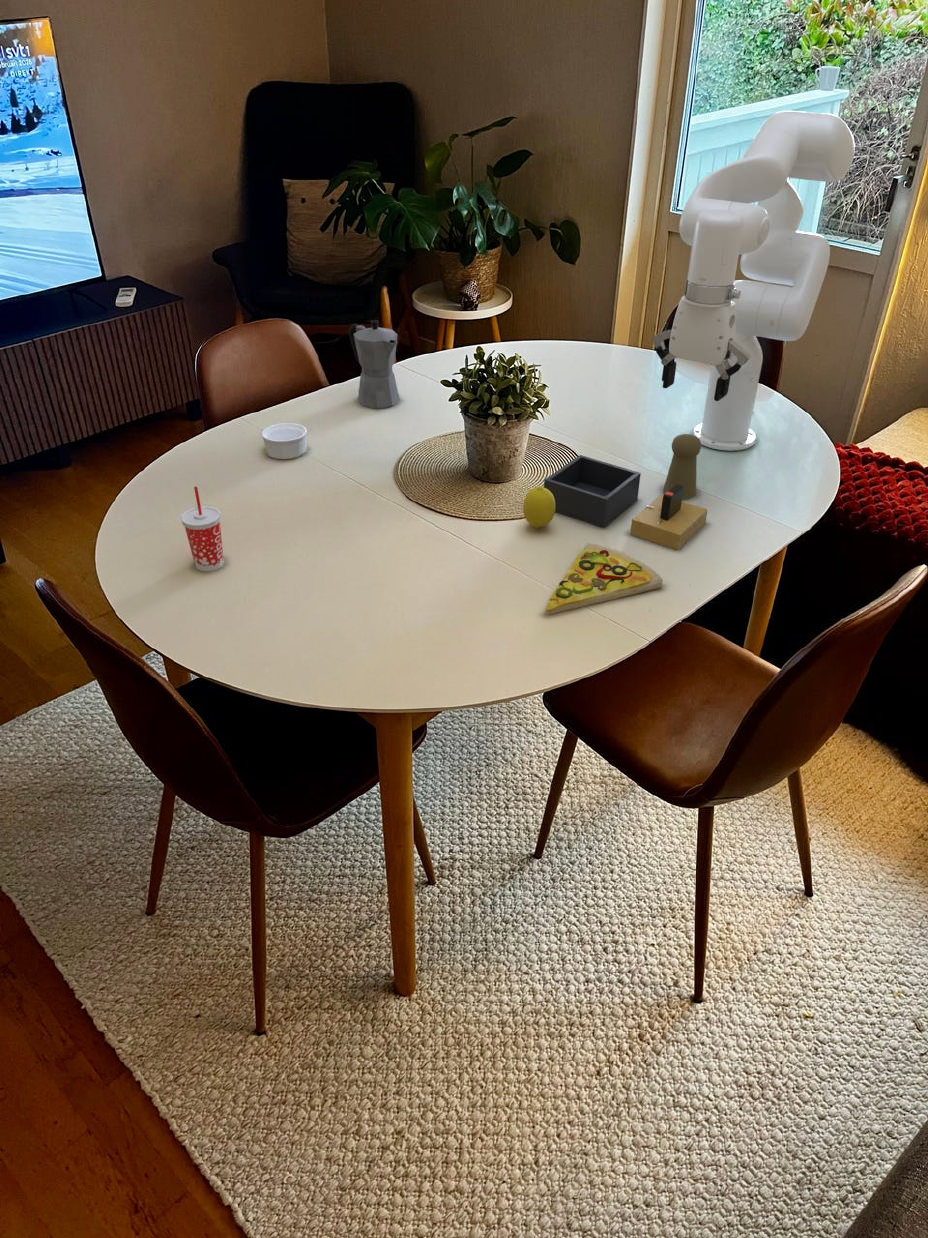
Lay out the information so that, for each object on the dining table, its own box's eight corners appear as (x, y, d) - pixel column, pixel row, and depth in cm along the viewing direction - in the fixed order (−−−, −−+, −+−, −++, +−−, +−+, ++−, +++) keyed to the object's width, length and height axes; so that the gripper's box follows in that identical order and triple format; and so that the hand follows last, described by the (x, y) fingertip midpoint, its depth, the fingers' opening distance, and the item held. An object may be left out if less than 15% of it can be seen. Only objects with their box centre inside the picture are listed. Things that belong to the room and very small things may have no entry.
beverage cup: (209, 577, 152) (195, 500, 144) (182, 566, 155) (166, 490, 147) (236, 560, 157) (224, 484, 149) (209, 550, 159) (195, 474, 151)
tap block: (658, 509, 172) (660, 493, 170) (705, 524, 167) (708, 508, 165) (629, 534, 164) (631, 518, 162) (678, 550, 160) (680, 534, 158)
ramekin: (255, 456, 189) (252, 436, 186) (278, 439, 195) (276, 419, 193) (294, 464, 186) (292, 443, 183) (317, 446, 193) (315, 426, 190)
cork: (696, 500, 174) (704, 445, 168) (662, 497, 175) (670, 442, 169) (696, 485, 179) (704, 431, 173) (663, 482, 180) (671, 428, 174)
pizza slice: (668, 584, 151) (670, 568, 150) (584, 637, 140) (586, 620, 138) (593, 547, 161) (594, 532, 159) (508, 594, 149) (508, 578, 147)
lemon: (557, 523, 167) (560, 482, 163) (549, 538, 163) (552, 496, 158) (527, 517, 169) (529, 477, 164) (518, 532, 165) (520, 491, 160)
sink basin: (578, 481, 180) (580, 454, 177) (637, 500, 174) (641, 472, 171) (542, 507, 172) (544, 479, 169) (603, 528, 166) (606, 499, 163)
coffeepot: (414, 403, 211) (412, 322, 200) (381, 415, 205) (377, 332, 195) (369, 384, 220) (365, 306, 209) (337, 395, 214) (331, 315, 204)
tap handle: (672, 506, 166) (676, 482, 163) (680, 509, 165) (684, 484, 163) (659, 518, 163) (663, 493, 160) (667, 520, 162) (671, 496, 159)
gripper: (767, 296, 155) (748, 397, 164) (670, 278, 163) (658, 375, 173) (750, 307, 150) (731, 410, 159) (650, 287, 158) (638, 387, 168)
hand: (693, 392), depth 166 cm, fingers open, 9 cm apart
